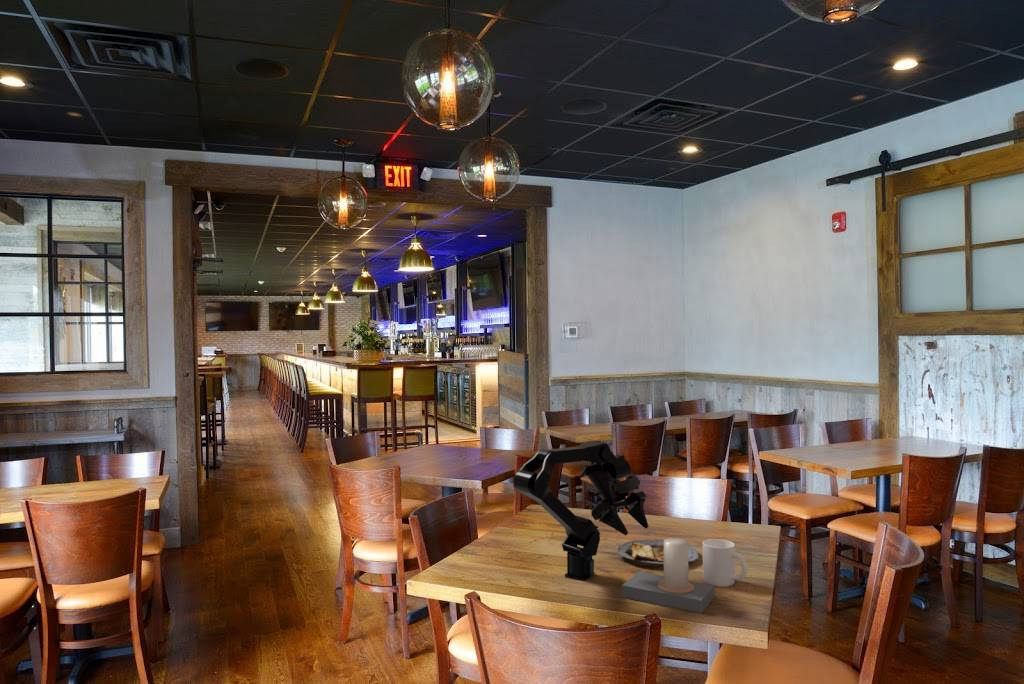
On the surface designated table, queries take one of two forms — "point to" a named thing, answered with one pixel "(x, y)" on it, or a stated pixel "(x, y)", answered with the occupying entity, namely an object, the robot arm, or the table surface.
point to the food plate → (649, 551)
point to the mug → (721, 563)
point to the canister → (676, 563)
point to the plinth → (668, 592)
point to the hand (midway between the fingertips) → (637, 530)
